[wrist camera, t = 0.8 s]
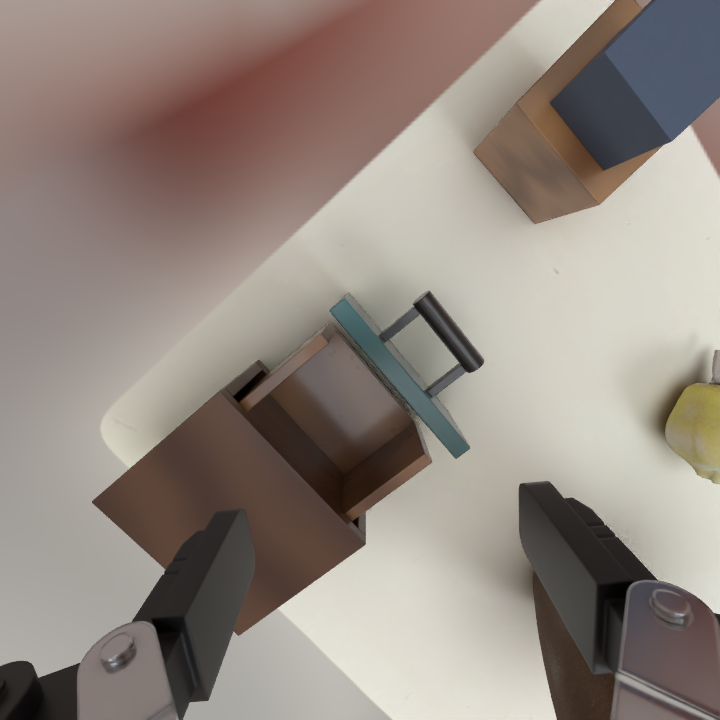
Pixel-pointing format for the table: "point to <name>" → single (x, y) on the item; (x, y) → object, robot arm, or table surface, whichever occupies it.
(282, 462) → the cabinet
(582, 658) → the flower pot
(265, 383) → the drawer
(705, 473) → the fruit
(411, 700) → the table surface
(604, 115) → the block
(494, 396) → the table surface
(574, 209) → the cube
